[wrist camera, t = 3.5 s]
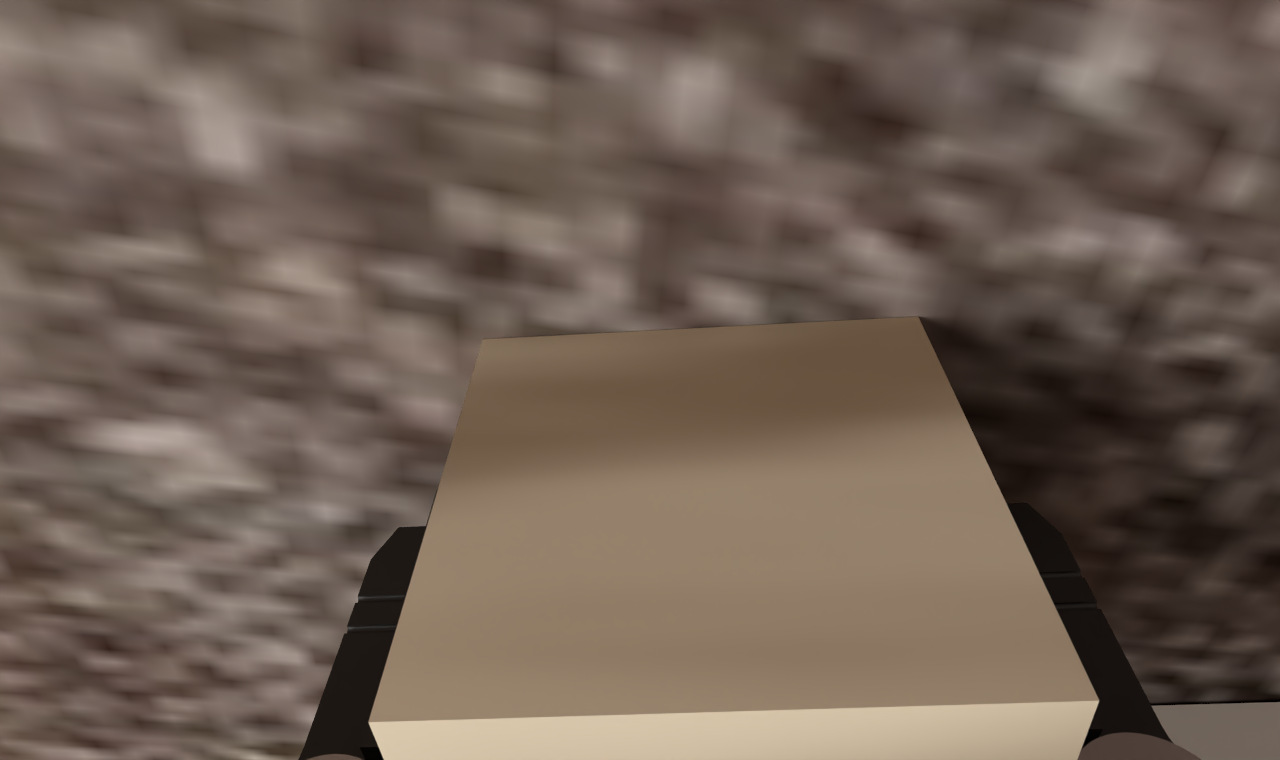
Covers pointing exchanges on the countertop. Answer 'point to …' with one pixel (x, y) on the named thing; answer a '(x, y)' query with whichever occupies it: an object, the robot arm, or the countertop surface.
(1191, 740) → the board
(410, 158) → the countertop surface
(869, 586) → the maple cube
